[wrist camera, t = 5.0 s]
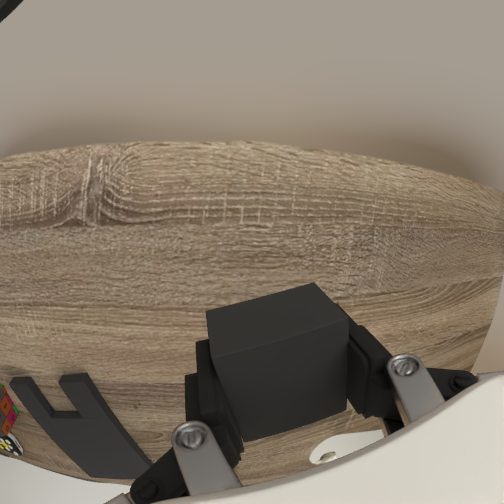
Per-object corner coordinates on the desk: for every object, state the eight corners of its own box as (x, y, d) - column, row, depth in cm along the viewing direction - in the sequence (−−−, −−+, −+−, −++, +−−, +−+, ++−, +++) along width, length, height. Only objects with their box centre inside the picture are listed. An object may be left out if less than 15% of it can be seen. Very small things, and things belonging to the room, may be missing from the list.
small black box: (205, 310, 11) (210, 357, 8) (314, 281, 11) (348, 317, 9) (233, 395, 13) (244, 442, 10) (321, 369, 13) (346, 410, 10)
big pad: (13, 377, 23) (8, 384, 22) (87, 372, 25) (83, 381, 24) (92, 470, 31) (91, 477, 29) (160, 471, 32) (160, 478, 31)
